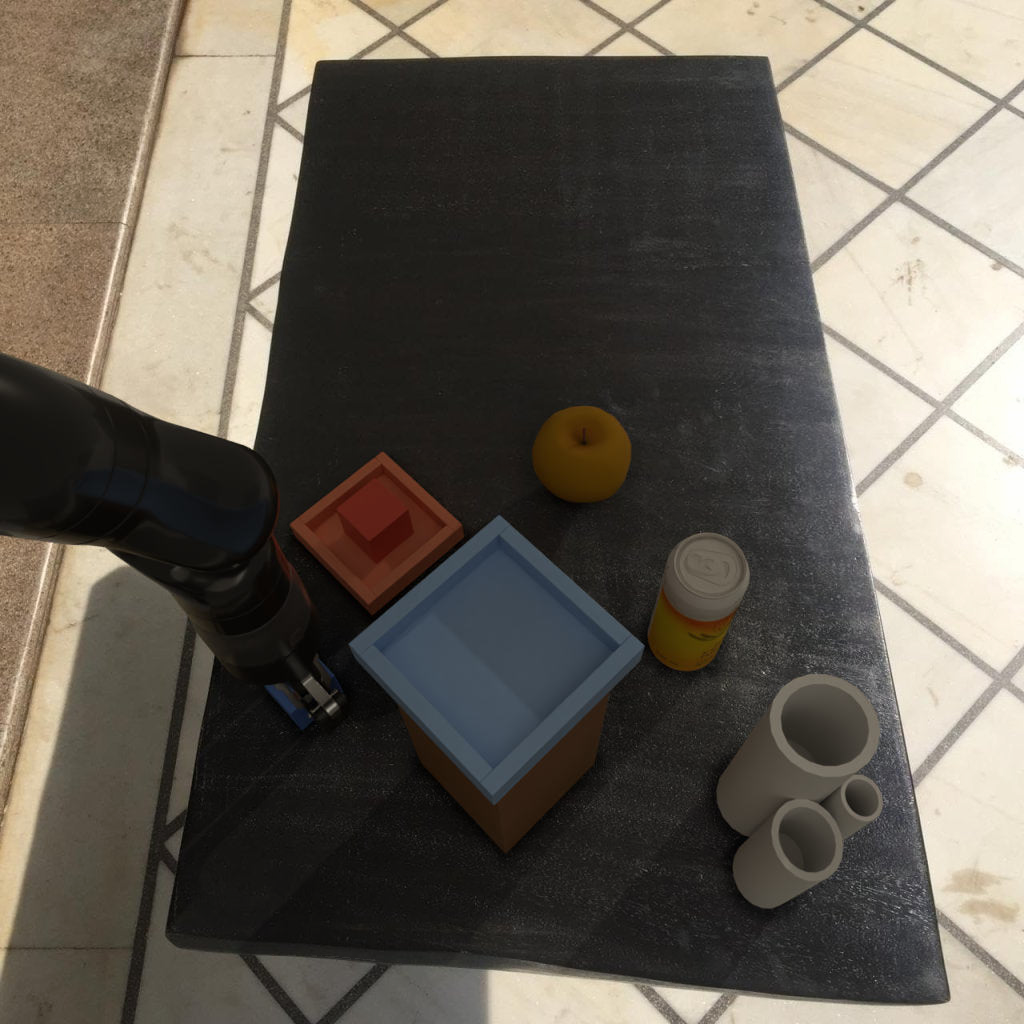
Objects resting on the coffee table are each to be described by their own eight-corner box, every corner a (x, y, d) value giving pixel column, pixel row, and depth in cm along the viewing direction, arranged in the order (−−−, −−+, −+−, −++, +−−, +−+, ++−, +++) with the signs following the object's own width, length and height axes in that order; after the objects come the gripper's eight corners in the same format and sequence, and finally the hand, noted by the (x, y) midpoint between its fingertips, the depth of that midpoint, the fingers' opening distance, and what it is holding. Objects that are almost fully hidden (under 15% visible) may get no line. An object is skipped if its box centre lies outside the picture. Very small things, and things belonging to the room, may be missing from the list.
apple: (635, 520, 89) (645, 469, 81) (538, 531, 88) (539, 481, 81) (618, 438, 93) (626, 382, 85) (526, 449, 93) (525, 393, 85)
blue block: (302, 730, 80) (290, 714, 76) (269, 693, 82) (255, 675, 78) (344, 693, 81) (334, 675, 77) (311, 657, 83) (299, 638, 79)
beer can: (708, 683, 81) (742, 614, 68) (638, 661, 82) (658, 589, 69) (724, 619, 84) (760, 540, 71) (656, 599, 85) (679, 518, 72)
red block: (376, 564, 87) (369, 541, 83) (344, 532, 88) (335, 508, 84) (414, 533, 88) (408, 509, 84) (382, 502, 90) (375, 477, 86)
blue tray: (505, 873, 74) (492, 796, 51) (402, 761, 79) (347, 643, 55) (612, 763, 78) (645, 645, 55) (508, 662, 82) (499, 514, 59)
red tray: (372, 615, 85) (368, 605, 83) (294, 536, 89) (289, 524, 87) (464, 537, 88) (462, 524, 86) (386, 464, 92) (382, 450, 90)
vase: (706, 763, 78) (756, 681, 60) (794, 750, 78) (868, 665, 61) (742, 913, 73) (808, 870, 55) (835, 898, 73) (930, 852, 55)
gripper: (149, 580, 68) (218, 663, 82) (275, 724, 63) (324, 785, 77) (236, 513, 70) (288, 606, 85) (364, 647, 65) (395, 720, 80)
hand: (305, 691), depth 81 cm, fingers open, 5 cm apart
